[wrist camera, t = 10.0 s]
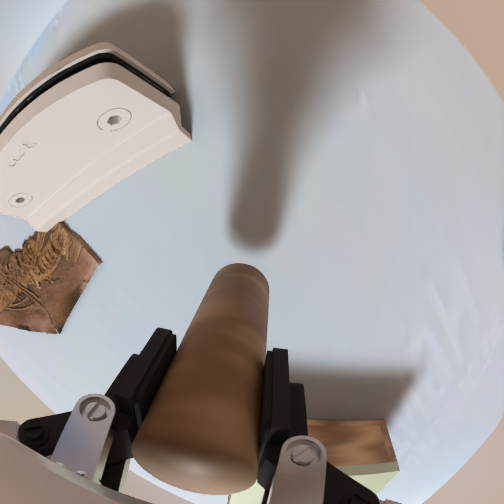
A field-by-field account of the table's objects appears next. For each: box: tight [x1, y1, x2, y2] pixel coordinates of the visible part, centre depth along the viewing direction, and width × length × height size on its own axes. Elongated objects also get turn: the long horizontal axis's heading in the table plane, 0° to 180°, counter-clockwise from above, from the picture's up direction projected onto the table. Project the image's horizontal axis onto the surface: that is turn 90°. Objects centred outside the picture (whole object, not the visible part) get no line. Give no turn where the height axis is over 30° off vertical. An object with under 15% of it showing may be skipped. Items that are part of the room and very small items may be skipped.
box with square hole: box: [227, 419, 397, 504], centre depth 26 cm, size 15×22×6 cm
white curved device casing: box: [0, 42, 192, 232], centre depth 16 cm, size 17×5×10 cm, turn 114°
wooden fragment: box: [0, 222, 102, 334], centre depth 24 cm, size 26×11×1 cm, turn 110°
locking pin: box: [131, 263, 269, 495], centre depth 12 cm, size 4×4×12 cm
